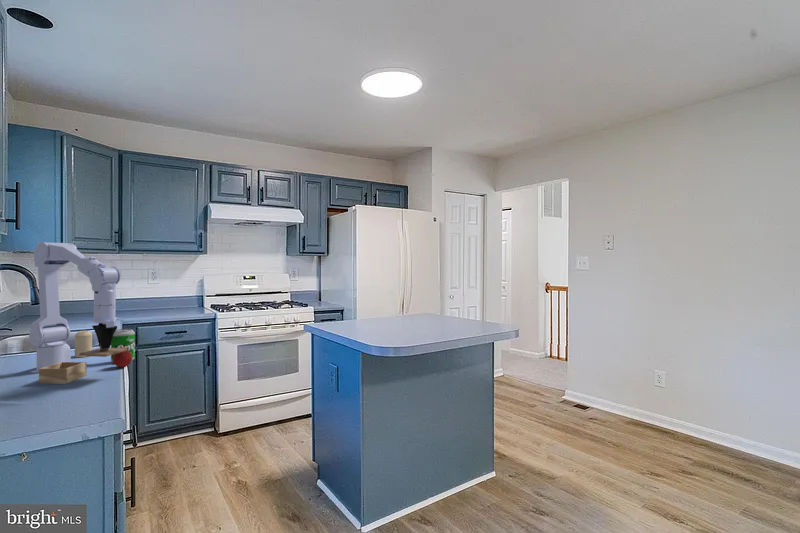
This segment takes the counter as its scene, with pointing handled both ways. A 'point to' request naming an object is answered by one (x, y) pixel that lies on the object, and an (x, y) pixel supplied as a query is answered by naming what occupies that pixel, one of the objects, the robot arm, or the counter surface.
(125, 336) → the soda can
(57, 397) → the counter surface
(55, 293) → the robot arm
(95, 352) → the lid
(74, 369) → the box
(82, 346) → the candle
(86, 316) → the counter surface
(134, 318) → the counter surface
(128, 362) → the onion
